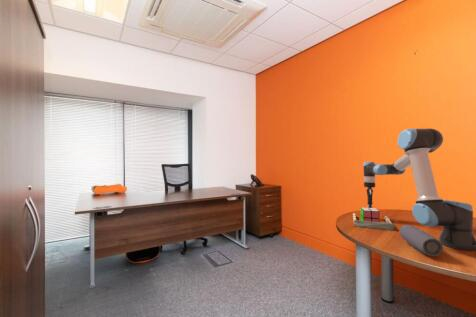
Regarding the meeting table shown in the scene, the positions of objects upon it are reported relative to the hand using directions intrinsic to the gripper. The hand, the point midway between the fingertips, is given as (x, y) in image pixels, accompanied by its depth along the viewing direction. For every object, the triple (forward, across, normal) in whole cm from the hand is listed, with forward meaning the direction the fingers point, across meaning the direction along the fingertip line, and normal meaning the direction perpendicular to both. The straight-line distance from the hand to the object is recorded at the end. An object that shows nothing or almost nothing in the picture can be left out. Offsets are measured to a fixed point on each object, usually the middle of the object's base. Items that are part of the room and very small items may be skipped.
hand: (370, 212), depth 177 cm
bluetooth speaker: (+6, +57, +17) cm, 60 cm away
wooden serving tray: (+5, +11, 0) cm, 12 cm away
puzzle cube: (+5, +14, -1) cm, 15 cm away
